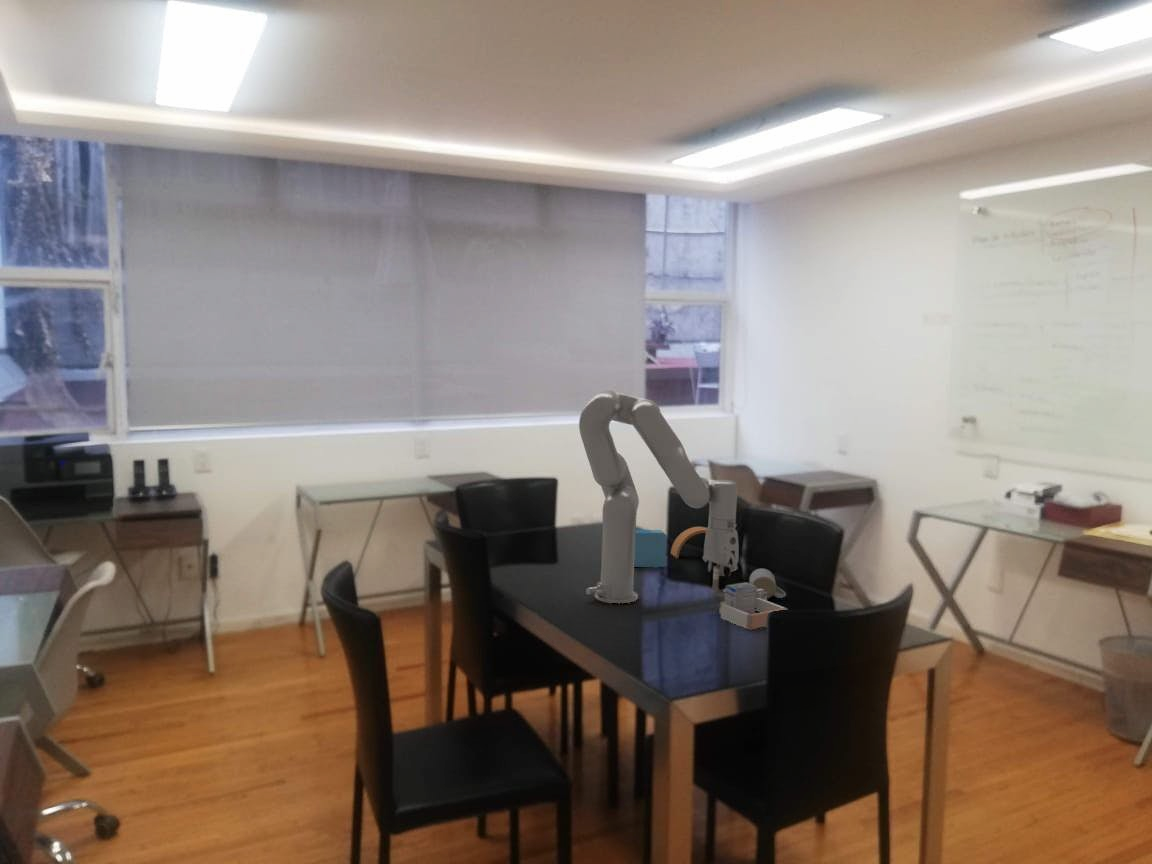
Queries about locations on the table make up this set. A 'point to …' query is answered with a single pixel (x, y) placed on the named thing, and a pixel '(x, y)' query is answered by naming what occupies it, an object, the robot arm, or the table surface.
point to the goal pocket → (750, 619)
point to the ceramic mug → (766, 583)
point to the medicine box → (741, 597)
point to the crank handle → (721, 593)
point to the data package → (650, 548)
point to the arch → (685, 539)
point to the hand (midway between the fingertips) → (718, 586)
